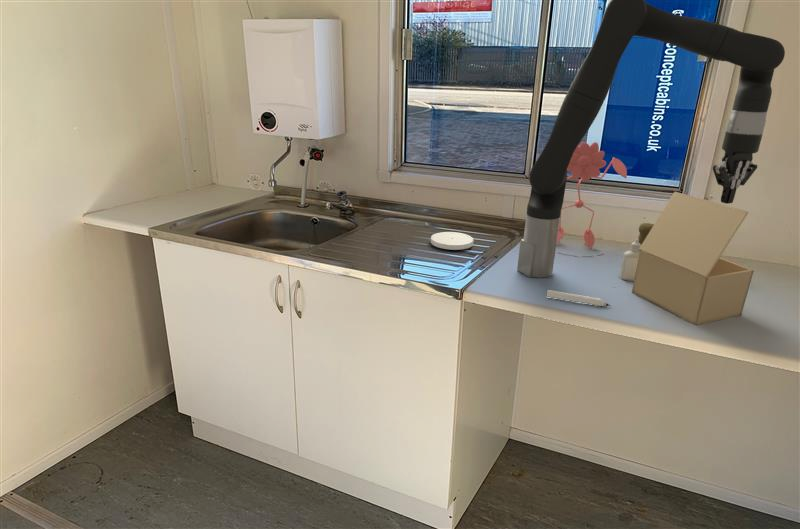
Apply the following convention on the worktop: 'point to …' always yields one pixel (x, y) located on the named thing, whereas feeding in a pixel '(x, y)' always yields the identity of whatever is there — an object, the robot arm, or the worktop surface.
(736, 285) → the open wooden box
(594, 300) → the marker
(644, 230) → the cork
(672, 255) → the lid flap
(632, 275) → the eye dropper bottle
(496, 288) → the worktop surface
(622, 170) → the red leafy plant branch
